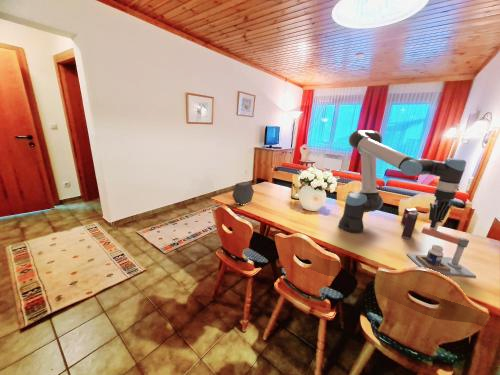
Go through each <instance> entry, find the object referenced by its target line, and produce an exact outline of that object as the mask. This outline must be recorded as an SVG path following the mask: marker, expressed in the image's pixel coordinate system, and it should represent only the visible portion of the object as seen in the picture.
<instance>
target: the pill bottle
mask: <svg viewBox="0 0 500 375" xmlns="http://www.w3.org/2000/svg"><path fill="white" fill-rule="evenodd" d="M443 250H444V247H442V246H440V245H437V244H432V246H431V248H429V249H428V251H427V254H426V255H427V257H426V260H425V261H426V262H427V263H428V264H429V265H430V266H440V263H441V260H442V257H444V252H443Z"/></svg>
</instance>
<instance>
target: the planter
mask: <svg viewBox="0 0 500 375" xmlns="http://www.w3.org/2000/svg"><path fill="white" fill-rule="evenodd" d="M254 194H255V191H254V188H253V186H252V183H251V182H247V181H242V182H237V183H235V186H234V188H233V192H232V195H231V196H232V198H233V201H234V202H235V204H236V203H239V204H242V205H243V204H246V203H248V202H250V201H251V202H252V199H253V196H254ZM239 204H238V205H239ZM242 205H241V206H242Z"/></svg>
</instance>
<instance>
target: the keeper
mask: <svg viewBox="0 0 500 375" xmlns="http://www.w3.org/2000/svg"><path fill="white" fill-rule="evenodd" d="M429 228H430V227H429ZM429 228H428V227H426V226H424V227H423V228H422V230H421V234H424V235H427V236H430V237H434V238H436V239H439V240H442V241H445V242H449V243H452V244H454V245H457V246H461V247H465V248H468V245H469V243H470V239H468V238H465V237H460V236H459V237H458V236H455V235H452V234H449V233H445V232H443V231H439V230H437V231H436V230H433V229H429Z"/></svg>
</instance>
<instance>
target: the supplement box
mask: <svg viewBox="0 0 500 375" xmlns="http://www.w3.org/2000/svg"><path fill="white" fill-rule="evenodd" d="M418 216H419V212H414V211H409V213H408V216H407V219H406V223H405V226H404V225H403V230H402V233H401V238H404V239H407V240H411V237H412V235H413V232H414V230H415V226H416V222H417V220H418Z"/></svg>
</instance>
